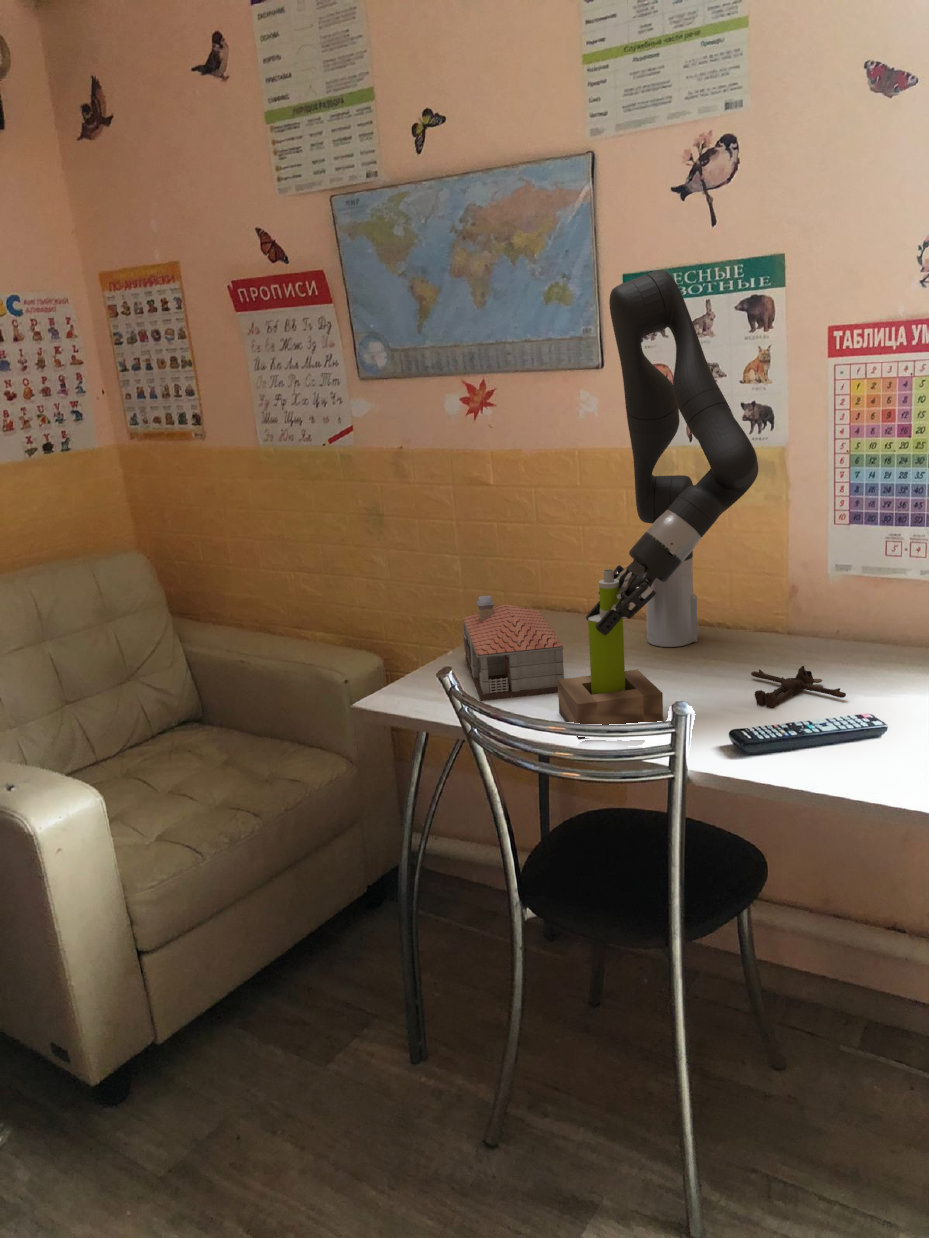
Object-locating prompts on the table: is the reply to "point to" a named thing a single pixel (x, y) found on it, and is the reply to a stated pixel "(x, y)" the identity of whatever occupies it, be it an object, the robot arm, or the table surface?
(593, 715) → the dock
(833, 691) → the brown humanoid figurine
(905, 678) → the table surface
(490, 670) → the model house
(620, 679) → the vape
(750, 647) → the table surface
